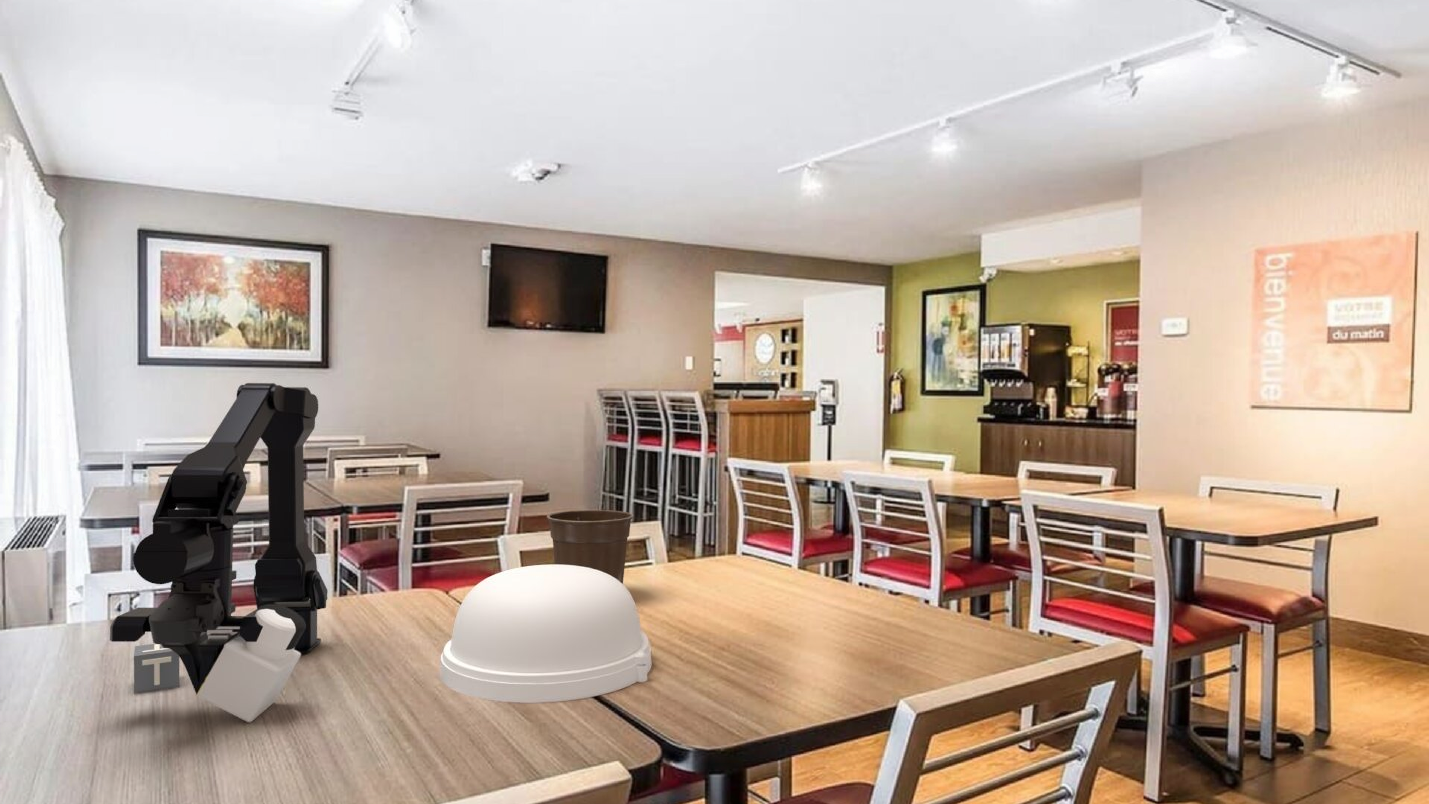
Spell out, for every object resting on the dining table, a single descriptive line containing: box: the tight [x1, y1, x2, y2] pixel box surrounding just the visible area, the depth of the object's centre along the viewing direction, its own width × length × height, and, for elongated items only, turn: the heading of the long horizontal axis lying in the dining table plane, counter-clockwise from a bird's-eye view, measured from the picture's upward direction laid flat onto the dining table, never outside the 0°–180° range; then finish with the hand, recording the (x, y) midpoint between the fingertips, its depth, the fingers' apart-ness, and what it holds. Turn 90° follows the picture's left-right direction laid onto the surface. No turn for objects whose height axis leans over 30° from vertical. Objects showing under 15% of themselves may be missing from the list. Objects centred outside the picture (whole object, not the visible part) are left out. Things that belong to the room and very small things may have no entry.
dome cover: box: [439, 563, 653, 704], centre depth 126 cm, size 32×30×14 cm
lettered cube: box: [133, 643, 180, 695], centre depth 116 cm, size 5×5×5 cm
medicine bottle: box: [196, 604, 306, 723], centre depth 107 cm, size 7×7×12 cm
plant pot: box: [546, 509, 634, 585], centre depth 166 cm, size 16×16×16 cm
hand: (202, 695), depth 106 cm, fingers closed, pressing on medicine bottle
